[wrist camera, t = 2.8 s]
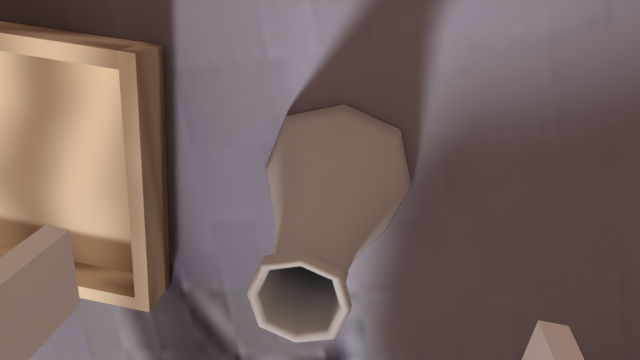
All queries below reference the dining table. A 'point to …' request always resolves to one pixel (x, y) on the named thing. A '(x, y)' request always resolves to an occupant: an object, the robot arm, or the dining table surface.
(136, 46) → the serving tray
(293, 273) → the flask
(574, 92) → the dining table surface
